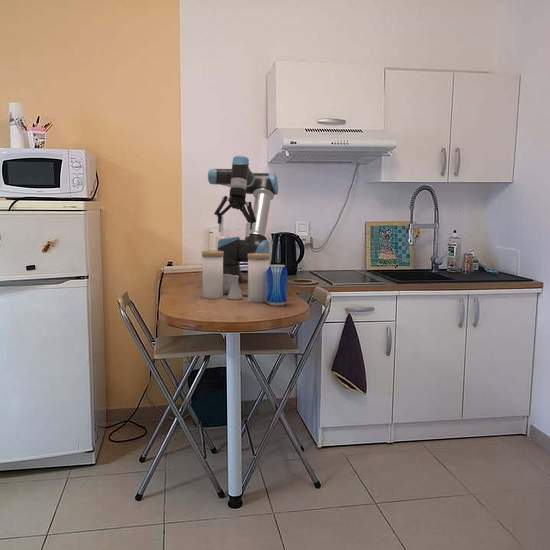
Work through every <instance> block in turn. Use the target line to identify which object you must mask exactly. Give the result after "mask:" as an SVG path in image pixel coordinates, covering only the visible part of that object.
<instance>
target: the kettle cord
mask: <svg viewBox="0 0 550 550" xmlns="http://www.w3.org/2000/svg"><path fill="white" fill-rule="evenodd" d="M228 294H229V292H227V293H224V292H223V296H224V295H225V296H228ZM242 296H243V297H245V298H246V297H247V298H248V293H242Z"/></svg>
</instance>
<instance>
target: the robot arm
mask: <svg viewBox="0 0 550 550" xmlns="http://www.w3.org/2000/svg"><path fill="white" fill-rule="evenodd" d="M249 161H250V160H249V158H248V157H247V156H244V155H235V156H234V157H233V158H232V162H231V163H232V164H231V168H210V169H209V170H208V173H207V181H208V183H209V184H210V185H221V186H223V187H228V188H229V195H228V196H229V197H228V196H227V195H224V196H223V197H222V200H221V202H220V204H219V205H218V207H217V208H216V210H215V212H214V215H215V216H216V217H217V224H218V232H219V233H220V232H223V227H224V219H225V217H224V215H225V214H226V213H227V212H228V211H229V210H230V209H231V208H232V209H234V210H235V209H236V210H237V211H238V210H239V211H240V212H241V213H242V215H243V216H244V218H245V220H246V221H247V223H246V225H245V237H244V239H241V237H240V236H232V237H225V238H219V239H218V240H217V248H216V249H217V251H224V256H223V274H230V275H233V276H234V275H237V276H239V278H238V283H239V284H240V283H242V282H244V277H243V276H244V275H243V273H242V270H241V267H240V266H241V265H240V263H248V253H269V254H270V241H268V239H267V236H266V232H267V231H266V230H267V224H268V217H269V212H270V207H271V205H270V204H271V201H272V200H273V199H274V197H275V195H276V196H277V195H278V194H279V183H278V182H279V181H278V177H277V174H276V173H274V172H252V170H251V169H250V163H249ZM247 195H252V196H253V197H254V202H253V206H252V201H246V196H247ZM227 202H228V203H229V204H228V205H227V206H226V207H225V208H224V206H225V204H226V203H227ZM223 208H224V209H223ZM222 209H223V210H222ZM221 210H222V211H221Z"/></svg>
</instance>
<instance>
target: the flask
mask: <svg viewBox="0 0 550 550" xmlns="http://www.w3.org/2000/svg"><path fill="white" fill-rule="evenodd" d="M238 278H239V276H237V275H234V276H232V285H231V288H230V291H229V292H228V293H229V294H228V295H227V297H226V299H227V300H231V301H232V300H233V301H234V300H235V301H236V300H237V301H238V300H244V296H242V294H243V293H242V291H241V288H240V282H239V283H238Z"/></svg>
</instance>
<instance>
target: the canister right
mask: <svg viewBox="0 0 550 550" xmlns="http://www.w3.org/2000/svg"><path fill="white" fill-rule="evenodd" d="M270 259H271V253H270V252H269V253H248V262H247V294H248V297H247V302H249V303H259V304H260V303H261V304H262V303H268V302H267V301H266V293H267V270H268V268H269V265H270Z"/></svg>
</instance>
